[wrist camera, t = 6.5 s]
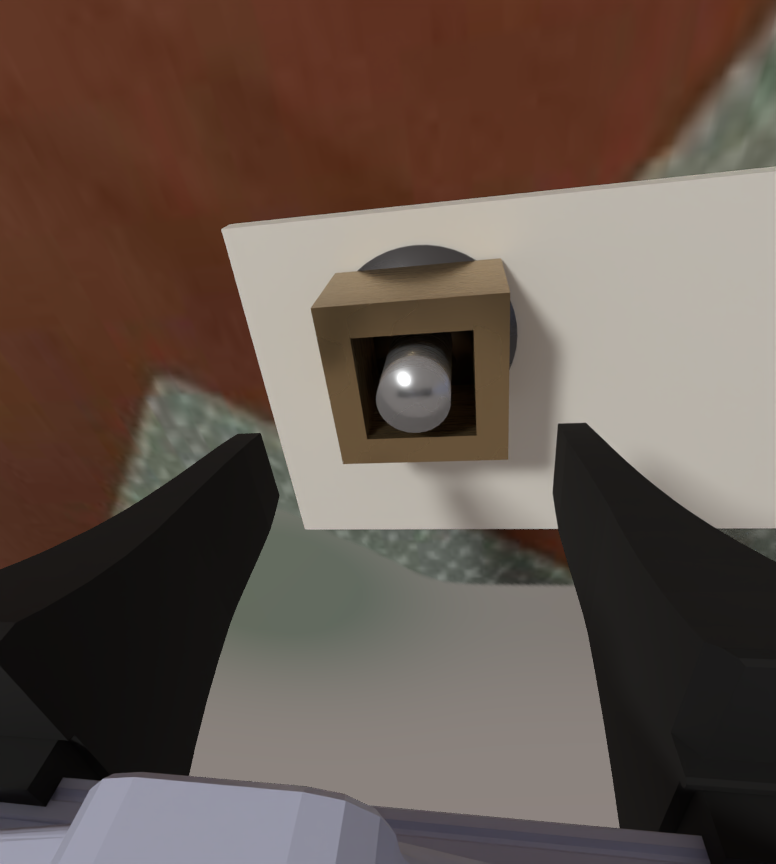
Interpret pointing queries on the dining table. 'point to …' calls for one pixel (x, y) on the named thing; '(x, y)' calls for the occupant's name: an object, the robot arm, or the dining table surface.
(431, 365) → the steel post
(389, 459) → the bronze collar
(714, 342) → the pale board
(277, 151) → the dining table surface
